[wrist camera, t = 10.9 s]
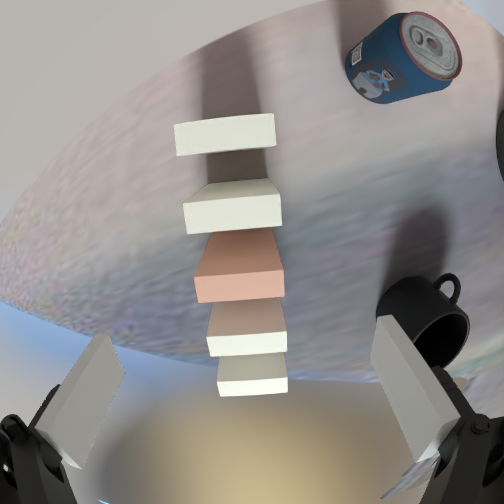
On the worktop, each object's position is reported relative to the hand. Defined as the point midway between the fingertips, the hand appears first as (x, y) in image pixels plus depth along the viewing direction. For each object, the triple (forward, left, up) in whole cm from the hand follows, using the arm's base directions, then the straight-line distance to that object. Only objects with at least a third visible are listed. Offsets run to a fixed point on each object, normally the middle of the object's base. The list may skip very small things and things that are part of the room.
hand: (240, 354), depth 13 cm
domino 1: (0, -10, -18) cm, 21 cm away
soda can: (-15, -17, -18) cm, 29 cm away
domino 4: (0, +5, -18) cm, 19 cm away
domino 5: (0, +10, -18) cm, 21 cm away
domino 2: (0, -5, -18) cm, 19 cm away
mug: (-21, +10, -18) cm, 29 cm away
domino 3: (0, 0, -18) cm, 18 cm away
